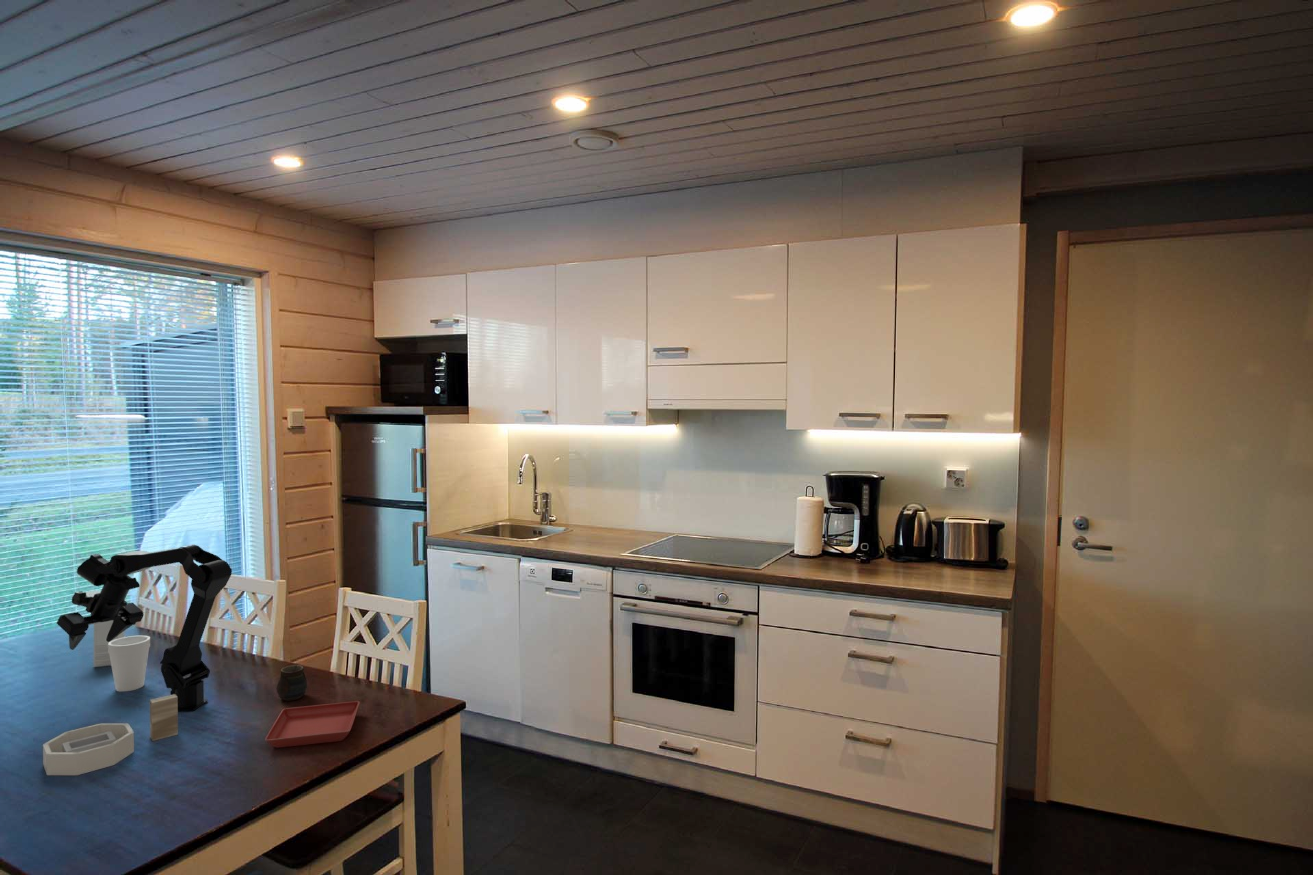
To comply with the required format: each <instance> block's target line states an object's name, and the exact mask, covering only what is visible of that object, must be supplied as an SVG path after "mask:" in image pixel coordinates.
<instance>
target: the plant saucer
mask: <svg viewBox="0 0 1313 875" xmlns="http://www.w3.org/2000/svg"><path fill="white" fill-rule="evenodd" d="M359 707H360V701H359V700H354V701H345V702H336V703H335V702H334V703H328V704H327V703H325V704H316V705H306V706H295V707H287V708H283V709H281V712H280V713H279V714H278V716H277V718H276V720H275V721H274V723H273V725H272V726H271V728H270V730H269V732H268V733H267V735H266V737H264V741H265V742H266V743H268V744H269V745H270V746H272V747H274V748H278V749H279V748H285V747H286V748H287V747H295V746H297V747H298V746H304V745H305V746H306V745H313V744H314V745H315V744H322V743H323V744H325V743H332V742H334V743H335V742H341V741H344V739H346V737H347V736H348V735H349V734H350V732H351V729H352V727H353V724H354V722H355V718H356V715H357V712H358V709H359Z"/></svg>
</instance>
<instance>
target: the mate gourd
mask: <svg viewBox="0 0 1313 875" xmlns="http://www.w3.org/2000/svg"><path fill="white" fill-rule="evenodd" d="M304 669H305V668H304V666H303V665H300V664H294V665H293V664H292V665H287V666H284V667H282V668H281V669H280V676H279V680H278V682H277V684H276V693H277V695H278V697H279V698H280V699H281V700H283V701H287V702H290V701H291V702H292V701H295V700H298V699H301V698H302V697H303V696H304V695H305V694H306V690H307V688H308V681H307V677H306V676H305V672H304Z"/></svg>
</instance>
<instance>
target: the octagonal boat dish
mask: <svg viewBox="0 0 1313 875" xmlns="http://www.w3.org/2000/svg"><path fill="white" fill-rule="evenodd" d="M134 734H135V732H134V730H133V729H132V727H131V726H130V724H129V723H126V722H124V723H123V722H122V723H117V722H115V723H110V722H106V723H105V722H103V723H101V722H100V723H97V724H94V725H93V724H92V725H89V726H84V727H80V728H76V729H72V730H68V731H65V732H63V733H61V734H59V735H57V736H56V737H54V738H52V739H50V740H49V741H47V742H45V743H43V744H42V760H43V761H42V763H43V764H42V765H43V768H44V770H45V774H46V776H79V775H83V774H86V773H89V772H94V771H97V770H100V769H102V770H103V769H104V768H108V767H112V766H114V765H116V764H118V763H119V762H121V761H122V760H124V759H125V758H126V757H128V756H130V755H132V754H133V753H135V735H134Z"/></svg>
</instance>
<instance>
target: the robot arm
mask: <svg viewBox="0 0 1313 875" xmlns="http://www.w3.org/2000/svg"><path fill="white" fill-rule="evenodd" d="M176 563H177V564H178V563H179V564H180V565H181V566H182V568H183V571H184V573H185V575H187V577H189V578H190V579H191V582H190V587H191V590H192V591H193V592H192V593H193V596H192V599H191V602H190V604H189V608H188V611H187V614H186V616H185V619H184V623H183V626H182V628H181V631H180V633H179V637H178V640H177V643H176V644H175V645H173V646H170V647H167V648H165V650H164V652H163V656H162V659H161V660H160V661H159V664H161V667H160V672H161V674H162V677H163V681H164V683H165V687H166V688H167V689H170V690H169V691H170V692H169V693H170V694H169V695H173V694H175V695H176V696H177V697H178V712H193V711H195V710H196V709H199V707H201V706H202V705H204V704H206V703H207V702H209V701H208V700H209V699H205V697H204V696H205V695H204V694H205V688H204V687H205V684H204V682H205V681H204V680H205V679H208V678H209V675H210V673H211V670H210V668H209V667H208V666H207V665H206V664H205V663H204V661H203V660H202V656H203V652H202V649H201V647H200V644H201V641H202V639H203V635H204V632H205V629H206V626H207V623H208V622H209V617H210V615H211V611H212V608H213V606H214V603H215V600H216V597H217V596H218V594H219V593H221V591H222V590H223V589H225V587H226V586H227V584H228V581H229V580H230V579H231V576H232V572H233V571H232V570H233V569H232V568H231V566H230V564H229V563H228V562H227V561H226V560H223V558H221V557H220V556H218V555H216V554H214V553H212V552H209V551H206V550H204V549H203V548H202V547H201V546H199V545H197V544H189V545H185V546H181V547H176V548H175V547H174V548H171V549H165V550H164V549H163V550H160V551H154V552H152V551H147V550H132V551H128V552H125V553H118V554H115V555H112V556H111V557H110V560H107V559H106V558H104V557H103V556H102V555H101V554H99V553H94V554H90V557H89V558H87V559H85V560H84V561H83V562H82V563H81V564H80V565H79V566H78V567H77V570H76V573H77V575H78V576H80V577H81V578H83V579H84V580H85V581H87V582H89V583H90V584H91V585H92V586H94V587H101V586H102V588H101V590H100V591H99V590H90V591H89V590H88V591H82V590H80V591H75V592H73V595H72V597H71V604H72V605H76V606H78V607H79V606H80V607H84V608H85V611H86V613H90V615H87V616H83V615H82V614H80V613H79V612H78V611H77V612H71V613H65V614H61V615H59V617H58V619H57V621H56V625H58V626H59V627H60V628H61V629H62V630H63V632H65V633H66V634H67V635H68V644H69V650H70V651H74V650H75V649H76V648H77V647H78V646H79V644H80V643H81V641H82V640H83V639H84V638H85V636H86V635H87V632H86V631H88V629H89V626H90V625H94V624H97V623H102V622H107V621H111V620H113V623H112V626H111V628H110V630H109V633H108V635H107V638H106V641H108V642H110V641H111V640H113V639H114V638H115V637H117V636H118V635H119V634H120V633H122V632H123V631H126V630H128V629H129V628H130V627H132V626H134V625H136V624H137V623H138V622H140V623H141V622H142V619H143V618H144V611H143V610H142V609H141V608H139V607H138V606H137V605H136V604H135V603H134V602H127V601H126V598H127V595H128V593H129V591H130V590H133V589H136V588H140V583H139V582H138V581H137V577H131V576H129V575H133V574H137V573H141V572H143V571H145V570H148V569H150V568H154V567H159V566H164V565H171V564H172V565H173V564H176ZM197 563H198V564H199V565H198V564H197ZM185 676H186V677H185Z"/></svg>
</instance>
